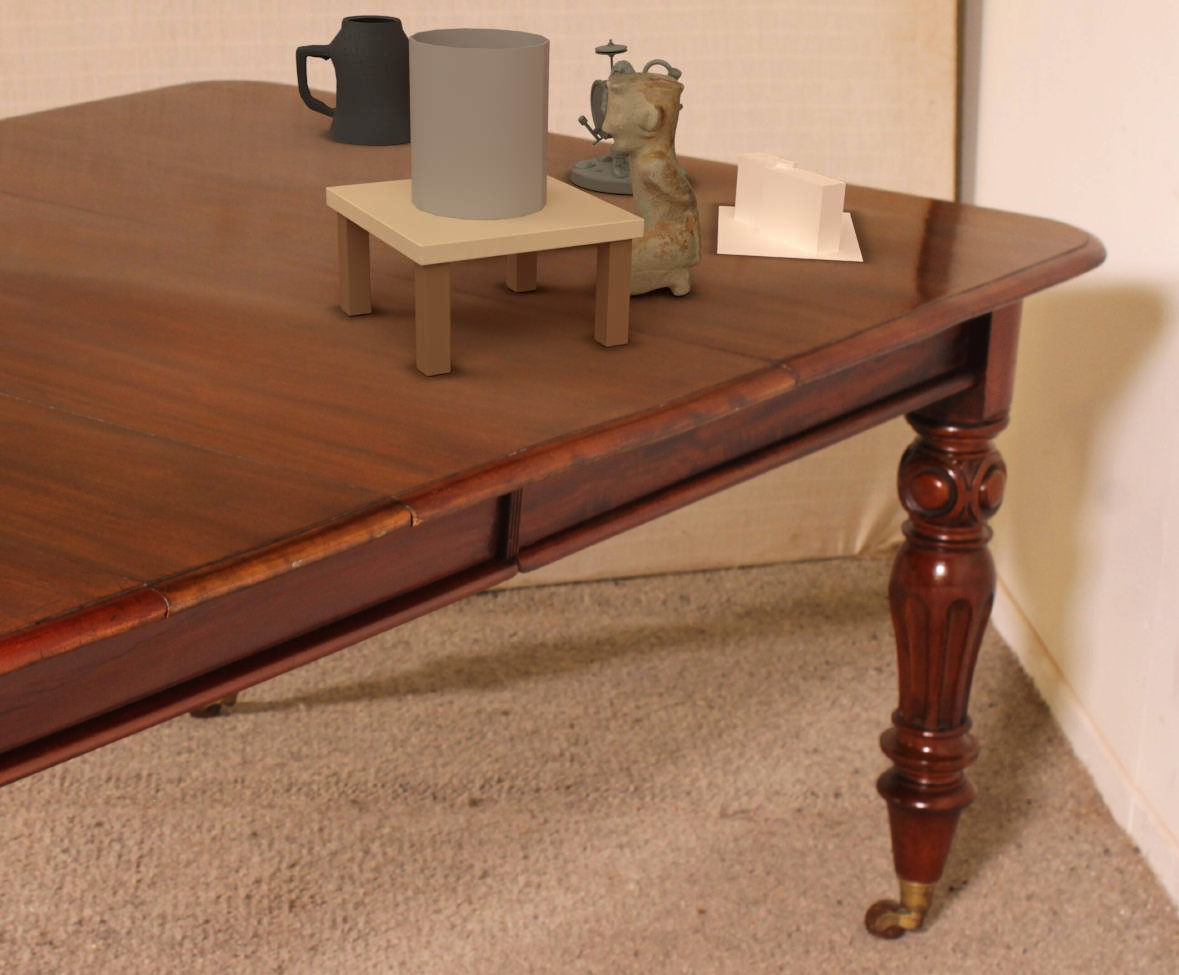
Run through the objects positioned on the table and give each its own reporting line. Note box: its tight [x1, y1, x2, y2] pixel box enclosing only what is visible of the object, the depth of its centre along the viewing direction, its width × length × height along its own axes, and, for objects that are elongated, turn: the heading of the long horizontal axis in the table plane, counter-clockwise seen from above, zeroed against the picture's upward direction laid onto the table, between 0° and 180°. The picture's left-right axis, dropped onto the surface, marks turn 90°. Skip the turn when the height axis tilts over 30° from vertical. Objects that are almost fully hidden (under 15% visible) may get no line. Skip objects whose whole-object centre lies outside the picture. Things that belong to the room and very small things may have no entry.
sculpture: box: [595, 71, 702, 297], centre depth 102 cm, size 6×7×15 cm
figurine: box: [569, 38, 688, 195], centre depth 133 cm, size 11×11×12 cm
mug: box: [295, 14, 411, 146], centre depth 147 cm, size 12×9×11 cm
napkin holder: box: [716, 151, 864, 263], centre depth 120 cm, size 15×11×6 cm
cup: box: [408, 27, 551, 220], centre depth 92 cm, size 8×8×10 cm
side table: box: [325, 174, 644, 377], centre depth 96 cm, size 15×15×8 cm
